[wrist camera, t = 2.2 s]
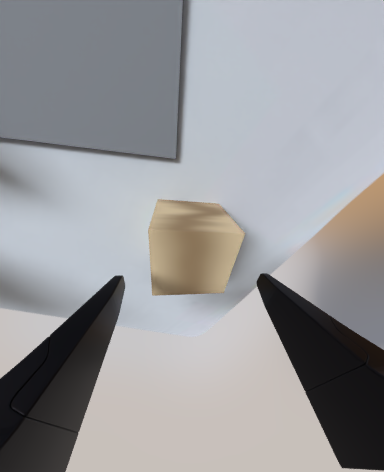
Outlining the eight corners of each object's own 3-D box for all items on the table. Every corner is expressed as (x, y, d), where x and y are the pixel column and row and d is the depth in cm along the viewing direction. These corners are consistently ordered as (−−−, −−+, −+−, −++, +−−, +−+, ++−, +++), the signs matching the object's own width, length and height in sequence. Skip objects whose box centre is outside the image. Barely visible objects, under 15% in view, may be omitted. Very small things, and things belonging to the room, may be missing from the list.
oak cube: (218, 203, 14) (245, 233, 9) (208, 250, 17) (223, 292, 12) (157, 198, 13) (148, 230, 8) (158, 249, 16) (152, 295, 11)
